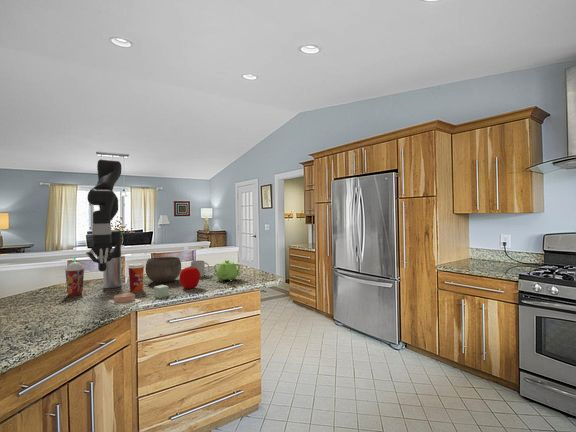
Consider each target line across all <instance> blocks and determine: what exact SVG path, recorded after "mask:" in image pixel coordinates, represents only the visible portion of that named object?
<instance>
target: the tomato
mask: <svg viewBox="0 0 576 432" xmlns="http://www.w3.org/2000/svg"><path fill="white" fill-rule="evenodd" d="M200 279H201V277H200V272H199V270H198V269H197V268H196V267H191V265H190V266H187V267H185V268H183V269H181V271H180V274H179V283H180V284H181V286H182V288H184V289H186V290H187V289H188V290H192V289H195V288H196V287H197V286H198V285H199V282H200Z"/></svg>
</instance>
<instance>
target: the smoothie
mask: <svg viewBox="0 0 576 432" xmlns="http://www.w3.org/2000/svg"><path fill="white" fill-rule="evenodd" d="M64 271H65V280H66V281H65V282H66V284H65V285H66V293H67V294H68V296H70V297H72V296H80V295H81V294H82V293H83V291H84V277H85V276H84V274H85V267H84V265H83V264H82V263H81V262H77V261H76V256H73V261H72V262H70V263H69V264H68V265H67V266H66V268H65V269H64Z"/></svg>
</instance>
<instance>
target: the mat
mask: <svg viewBox="0 0 576 432" xmlns="http://www.w3.org/2000/svg"><path fill="white" fill-rule="evenodd" d="M138 302H142V300H141V299H137V298H135V300H134V301H132V302H128V303H114V298H113V299H109V300H108V303H111V304H112V303H113V304H115V305H118V306H121V307H123V306H126V305H130V304H133V303H134V304H135V303H138Z"/></svg>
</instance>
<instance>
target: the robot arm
mask: <svg viewBox="0 0 576 432" xmlns="http://www.w3.org/2000/svg"><path fill="white" fill-rule="evenodd" d="M96 170H97V179H98V180H97V183H96V184H95V186H94V187H92V188H91V189H89V191H88V193H87V197H86V198H87V201H88V203H89V204H90V205H92V206H99V207H98V208H99V209H98V210H94V211H93V212H92V228H91V232H92V233H91V239H92V242H91V243H92V246H91V249H90V250H89V251H87V252H86V253H85V254H86V256H88V257H89V259H90V260H91V261H92V262H93V263H97V265H98V271H99V272H102V276H103V279H102V281H103V283H102V284H103V288H104V289H114V288H119V287H121V286H122V231H121V230H120V229H112V225H111V224H112V223H111V221H112V220H113V219H114V217H115V216H116V215H117V214H118V212H119V198H118V196H117V195H116V193H115V192H114V191H113V189H114V186H115V184H116V183H117V181H118V180H119V179H120V177H121V174H122V164H121V162H120V161H119V160H114V159H106V158H105V159H103V158H100V159H99V160H98V161H97V169H96ZM94 254H95V255H96V256H95V255H94Z"/></svg>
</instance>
